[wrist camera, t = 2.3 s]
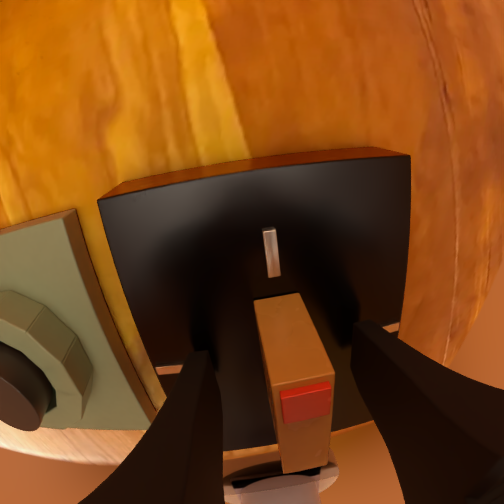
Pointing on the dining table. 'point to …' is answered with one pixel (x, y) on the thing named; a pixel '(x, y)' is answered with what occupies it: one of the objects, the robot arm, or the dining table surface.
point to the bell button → (22, 390)
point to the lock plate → (262, 266)
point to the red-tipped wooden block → (296, 381)
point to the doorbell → (67, 327)
